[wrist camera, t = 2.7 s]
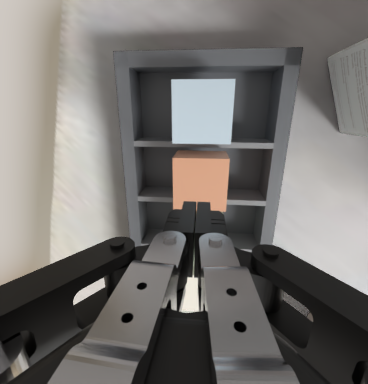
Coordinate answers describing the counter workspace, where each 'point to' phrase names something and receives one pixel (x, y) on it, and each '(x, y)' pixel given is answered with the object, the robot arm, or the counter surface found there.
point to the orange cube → (201, 178)
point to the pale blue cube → (202, 111)
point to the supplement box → (351, 88)
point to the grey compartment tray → (237, 151)
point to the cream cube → (191, 294)
